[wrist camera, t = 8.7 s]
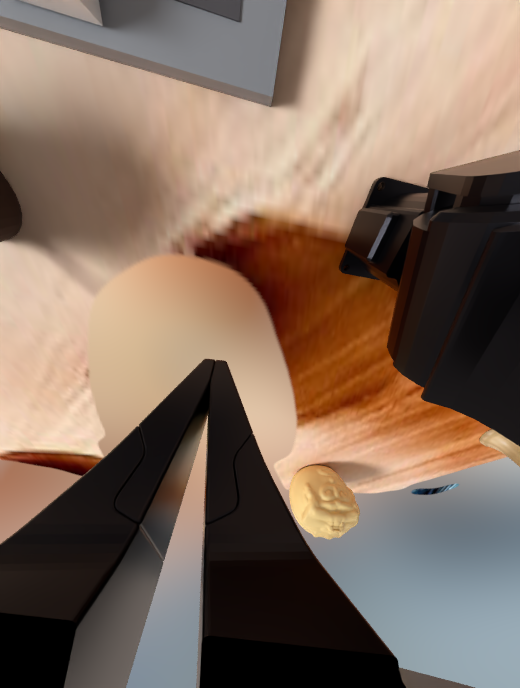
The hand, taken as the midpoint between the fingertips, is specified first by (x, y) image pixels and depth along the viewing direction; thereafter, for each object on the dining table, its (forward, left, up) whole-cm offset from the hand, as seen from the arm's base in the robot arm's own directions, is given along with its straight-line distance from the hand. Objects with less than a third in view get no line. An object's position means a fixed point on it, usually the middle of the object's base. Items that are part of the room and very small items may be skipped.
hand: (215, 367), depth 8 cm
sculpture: (-21, +40, -12) cm, 47 cm away
